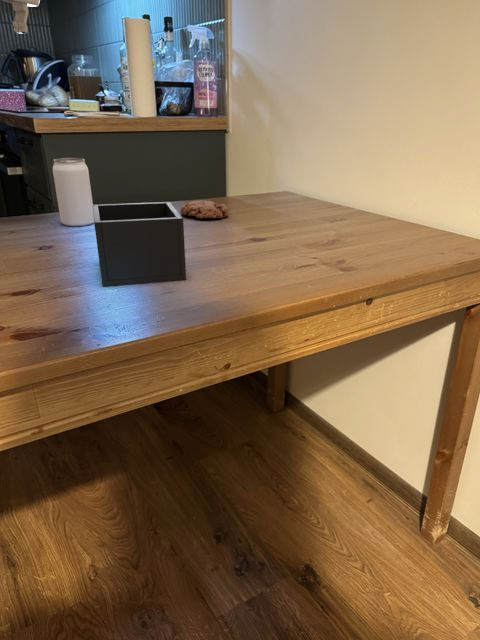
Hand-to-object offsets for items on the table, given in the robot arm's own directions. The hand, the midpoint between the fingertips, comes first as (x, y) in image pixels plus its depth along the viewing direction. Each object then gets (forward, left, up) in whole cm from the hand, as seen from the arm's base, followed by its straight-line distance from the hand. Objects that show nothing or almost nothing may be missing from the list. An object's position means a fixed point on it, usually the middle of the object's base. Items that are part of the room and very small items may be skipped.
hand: (4, 30), depth 86 cm
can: (+8, -4, -33) cm, 34 cm away
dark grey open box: (+17, -37, -33) cm, 52 cm away
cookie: (+34, -3, -33) cm, 47 cm away
